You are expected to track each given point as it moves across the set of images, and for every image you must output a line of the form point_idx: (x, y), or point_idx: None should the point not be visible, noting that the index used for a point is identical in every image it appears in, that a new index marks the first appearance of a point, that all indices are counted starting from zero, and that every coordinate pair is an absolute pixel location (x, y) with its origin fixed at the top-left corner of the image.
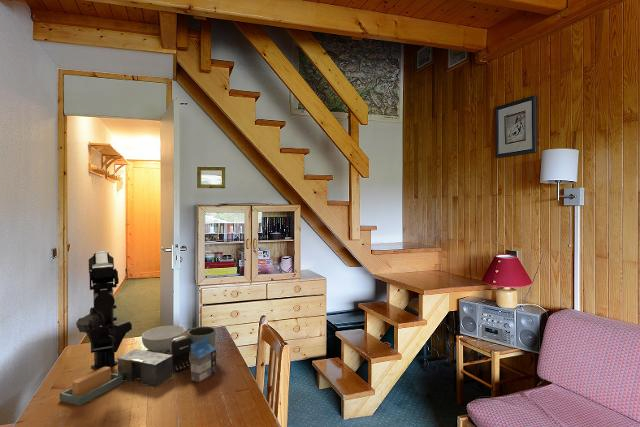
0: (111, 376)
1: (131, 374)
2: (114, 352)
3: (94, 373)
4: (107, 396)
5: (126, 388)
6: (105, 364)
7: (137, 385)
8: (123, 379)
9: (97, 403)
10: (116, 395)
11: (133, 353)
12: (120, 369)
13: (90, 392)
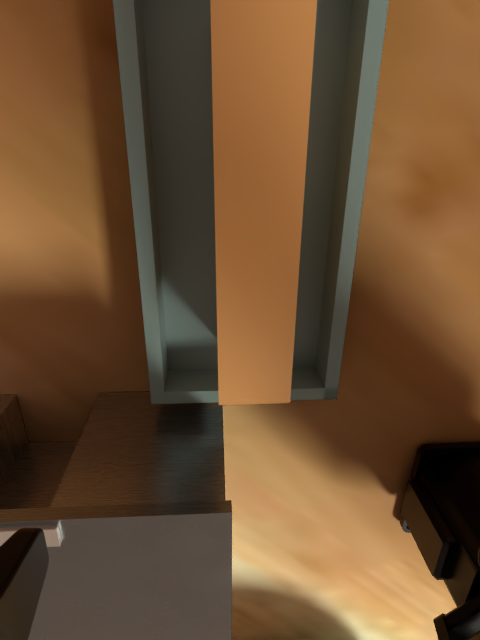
0: None
1: (86, 427)
2: (20, 532)
3: (253, 257)
4: (60, 177)
5: (51, 320)
6: (438, 482)
7: (24, 374)
8: None
9: (17, 47)
10: (12, 215)
11: (170, 609)
12: (196, 440)
13: (120, 73)
